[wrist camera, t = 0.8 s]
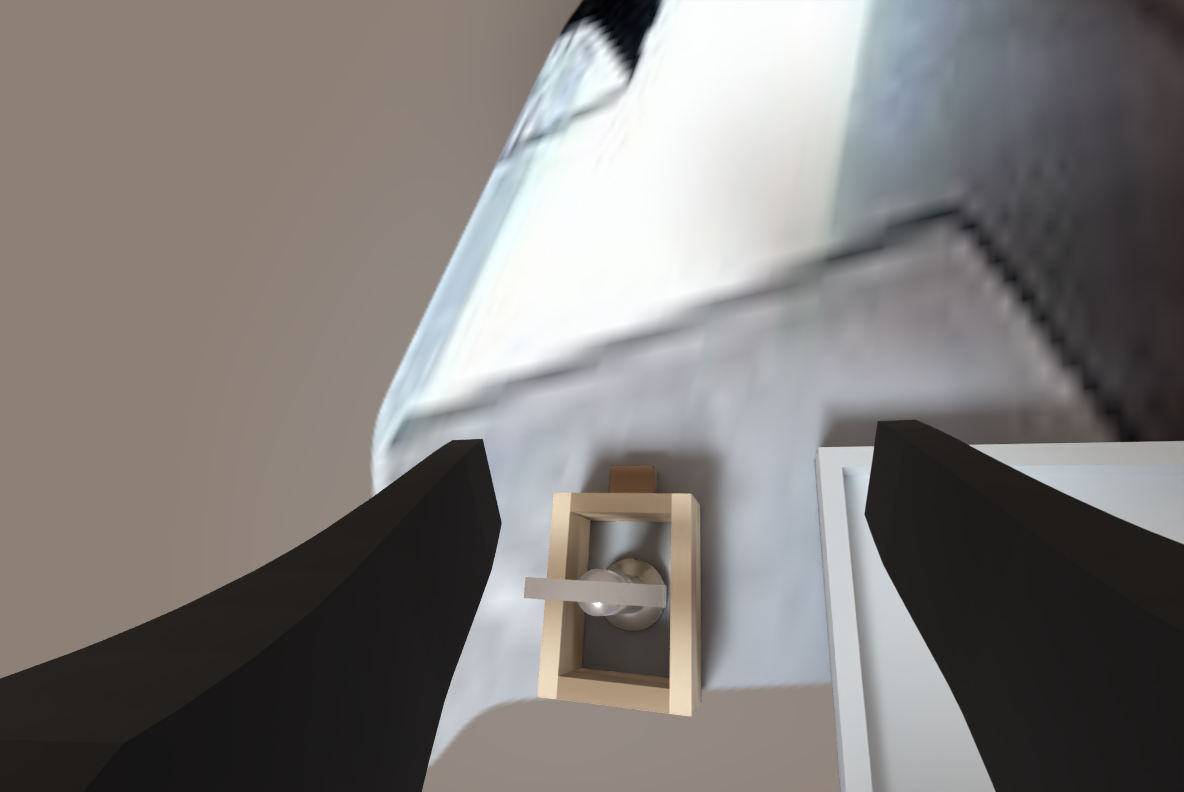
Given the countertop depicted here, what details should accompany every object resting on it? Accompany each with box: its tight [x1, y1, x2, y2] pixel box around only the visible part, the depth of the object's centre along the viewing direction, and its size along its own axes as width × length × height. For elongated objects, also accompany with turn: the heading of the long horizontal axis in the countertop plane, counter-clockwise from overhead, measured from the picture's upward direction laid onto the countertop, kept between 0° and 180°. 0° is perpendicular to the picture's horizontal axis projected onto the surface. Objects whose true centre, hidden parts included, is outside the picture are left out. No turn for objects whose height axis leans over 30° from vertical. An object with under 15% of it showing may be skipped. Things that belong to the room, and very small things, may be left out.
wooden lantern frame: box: [537, 465, 701, 716], centre depth 24 cm, size 10×6×3 cm, turn 176°
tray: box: [815, 441, 1184, 792], centre depth 18 cm, size 16×16×2 cm
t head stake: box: [524, 559, 667, 631], centre depth 22 cm, size 3×5×6 cm, turn 86°
